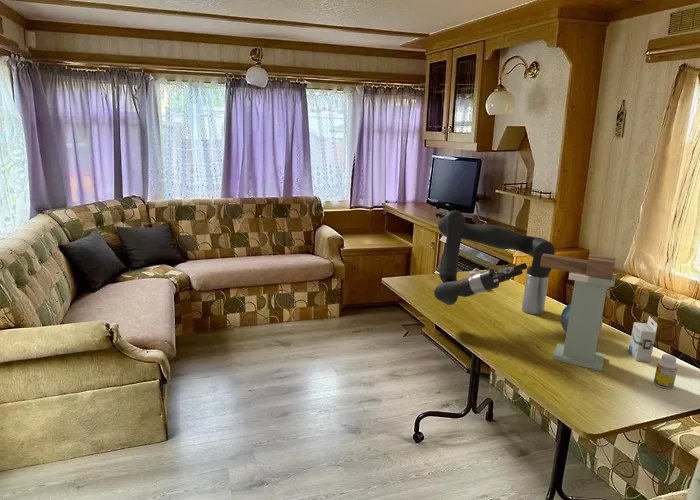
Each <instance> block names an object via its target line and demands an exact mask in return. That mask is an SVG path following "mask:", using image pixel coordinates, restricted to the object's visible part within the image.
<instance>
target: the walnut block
mask: <svg viewBox="0 0 700 500" xmlns="http://www.w3.org/2000/svg"><path fill="white" fill-rule="evenodd" d="M616 260H617V257H614V256H608V255H600V254H593V253H590V254H589V256H588V258H587V259H580V258H574V257H569V256H568V257H567V256H561V255H550V254H543V255H542V256H541V263H540V267H545V268H551V270H558V271H564V272H569V273H570V272H575V273H581V274H586V275H585V276H590V277H596V278H602V279H608V280H612V276H613V274H614V269H615V264H616Z"/></svg>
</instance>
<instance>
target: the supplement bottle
mask: <svg viewBox="0 0 700 500" xmlns="http://www.w3.org/2000/svg"><path fill="white" fill-rule="evenodd" d="M678 368H679V366H678V363H677V357H676V356H674V355H672V354H669V353H668V354H667V353H663V354H662V355H661V357H660V359H658V360H657V364H656V369H655V373H654V378H653V383H654V385H656V387H659V388H661V389H665V390H670V389H671V390H672V389H673V388H674V385H675V381H676V377H677V373H678Z"/></svg>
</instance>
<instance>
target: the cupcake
mask: <svg viewBox="0 0 700 500" xmlns="http://www.w3.org/2000/svg"><path fill="white" fill-rule="evenodd" d="M480 272H482V271H481V269H479V268H478V267H476V268H474V269H473V270H472V271H469V272H468V274H467V275H466V277H465V278H468V277H471V276H473V275H475V274H477V273H480Z"/></svg>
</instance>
